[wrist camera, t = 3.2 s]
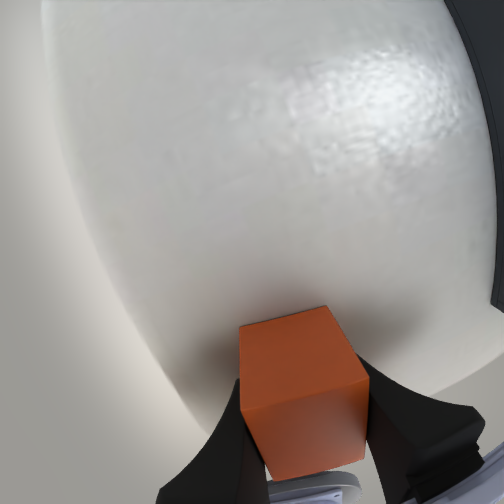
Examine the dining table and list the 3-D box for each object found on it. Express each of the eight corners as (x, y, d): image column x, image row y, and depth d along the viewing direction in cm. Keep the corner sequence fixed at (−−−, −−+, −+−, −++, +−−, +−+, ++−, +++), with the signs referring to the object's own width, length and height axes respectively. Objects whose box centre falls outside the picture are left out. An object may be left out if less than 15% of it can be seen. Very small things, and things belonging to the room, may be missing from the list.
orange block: (336, 388, 14) (364, 458, 9) (264, 406, 14) (273, 482, 9) (327, 304, 12) (370, 376, 7) (238, 326, 12) (239, 410, 7)
